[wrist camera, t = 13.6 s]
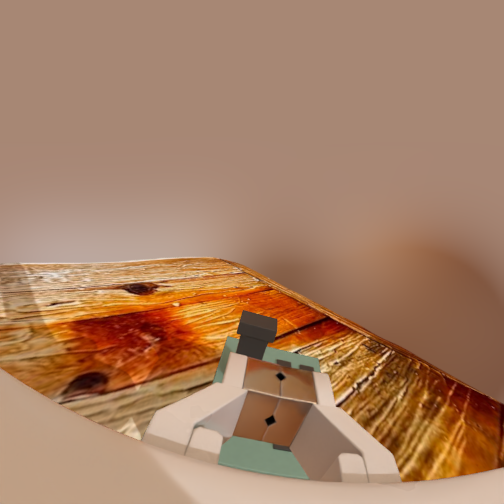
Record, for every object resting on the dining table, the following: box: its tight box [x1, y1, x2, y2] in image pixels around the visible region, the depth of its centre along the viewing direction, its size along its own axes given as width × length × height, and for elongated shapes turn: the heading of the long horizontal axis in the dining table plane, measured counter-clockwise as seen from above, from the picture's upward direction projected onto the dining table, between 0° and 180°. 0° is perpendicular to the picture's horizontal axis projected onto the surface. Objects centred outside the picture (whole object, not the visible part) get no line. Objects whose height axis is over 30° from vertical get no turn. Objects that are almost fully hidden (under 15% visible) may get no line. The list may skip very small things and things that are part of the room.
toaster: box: [212, 336, 321, 480], centre depth 28 cm, size 11×18×9 cm, turn 174°
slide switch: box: [236, 310, 277, 360], centre depth 28 cm, size 3×2×6 cm
